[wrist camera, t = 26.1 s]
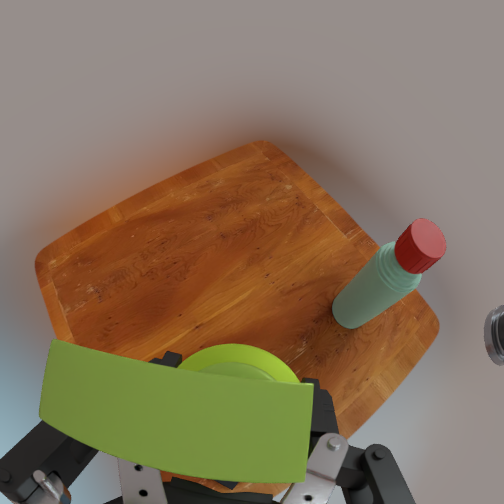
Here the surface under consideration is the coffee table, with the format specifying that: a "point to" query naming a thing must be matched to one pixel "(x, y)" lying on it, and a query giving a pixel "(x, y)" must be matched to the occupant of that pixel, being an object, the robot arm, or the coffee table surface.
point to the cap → (420, 246)
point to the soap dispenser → (185, 411)
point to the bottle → (373, 289)
